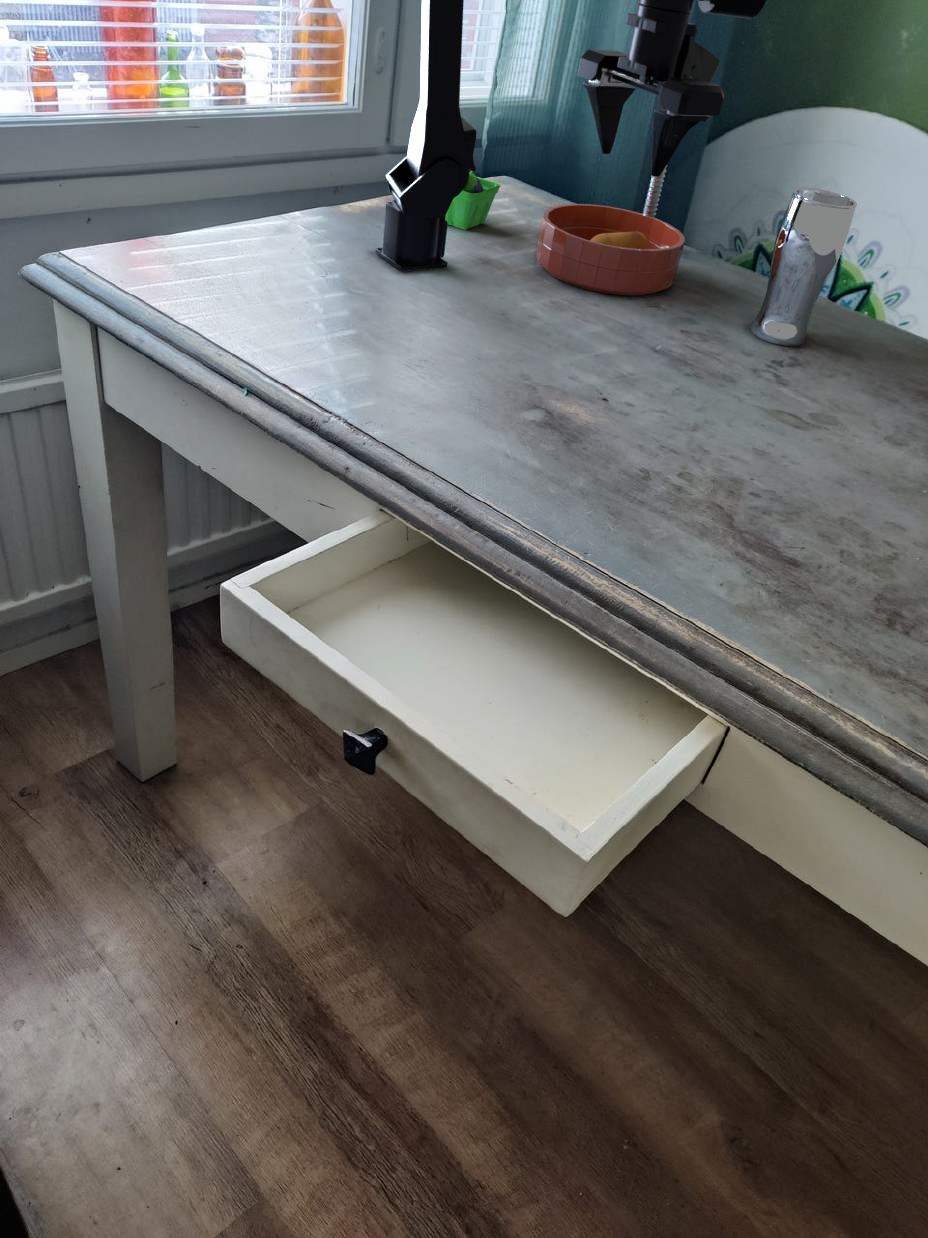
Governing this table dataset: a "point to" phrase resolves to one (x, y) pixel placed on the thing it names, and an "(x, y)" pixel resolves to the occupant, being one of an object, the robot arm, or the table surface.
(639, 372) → the table surface
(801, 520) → the table surface
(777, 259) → the beer glass
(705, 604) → the table surface
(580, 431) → the table surface
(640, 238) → the drumstick
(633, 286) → the shallow orange pet bowl
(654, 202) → the screw
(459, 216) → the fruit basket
